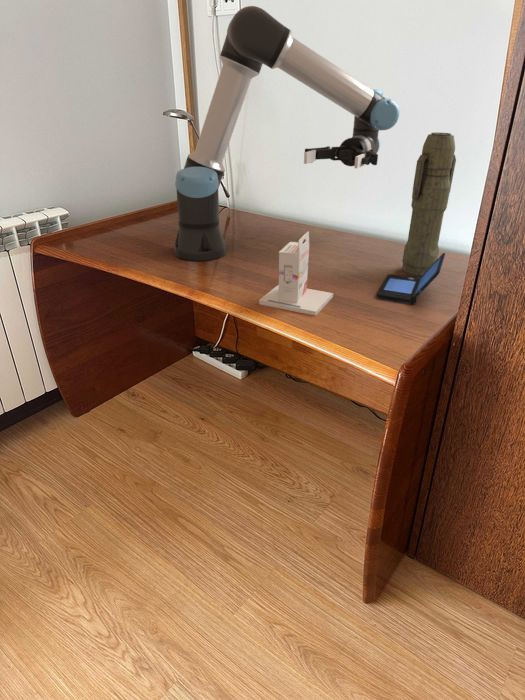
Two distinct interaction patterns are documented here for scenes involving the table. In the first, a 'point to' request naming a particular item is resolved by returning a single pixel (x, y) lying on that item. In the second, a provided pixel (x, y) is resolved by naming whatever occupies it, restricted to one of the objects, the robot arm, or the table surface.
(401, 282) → the handheld game console
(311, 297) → the notepad
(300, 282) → the ink cartridge box
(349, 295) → the table surface
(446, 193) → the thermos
